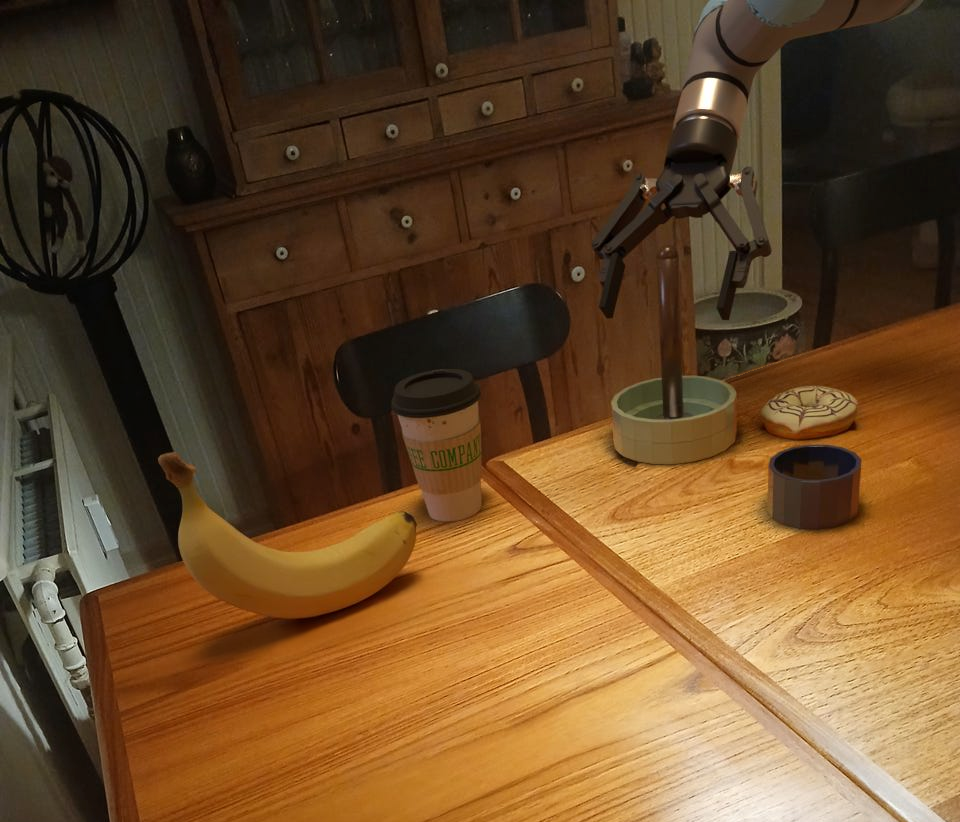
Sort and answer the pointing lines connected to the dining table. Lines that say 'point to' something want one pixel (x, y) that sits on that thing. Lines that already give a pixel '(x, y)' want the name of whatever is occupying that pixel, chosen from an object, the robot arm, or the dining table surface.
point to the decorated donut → (809, 412)
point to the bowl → (674, 421)
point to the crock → (814, 486)
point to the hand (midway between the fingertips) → (662, 313)
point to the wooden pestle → (670, 333)
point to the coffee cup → (443, 439)
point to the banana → (284, 559)
